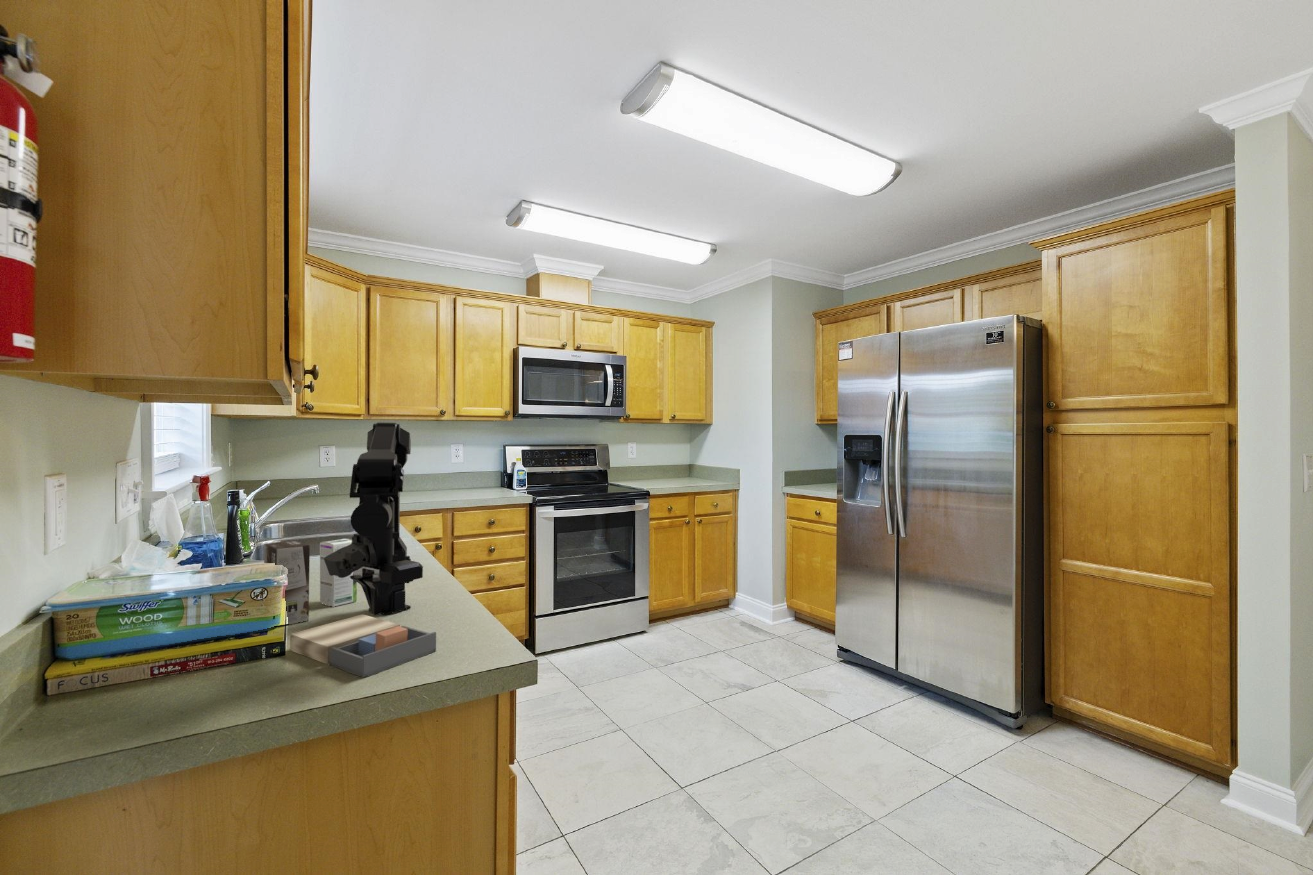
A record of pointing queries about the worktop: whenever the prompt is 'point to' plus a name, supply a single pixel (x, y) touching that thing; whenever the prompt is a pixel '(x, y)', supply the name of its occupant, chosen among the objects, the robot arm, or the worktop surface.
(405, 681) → the worktop surface
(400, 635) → the terracotta tile
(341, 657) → the charcoal tray
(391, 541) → the robot arm
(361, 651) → the blue-glazed tile
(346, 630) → the birch board
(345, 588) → the syrup box
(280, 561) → the coffee box
